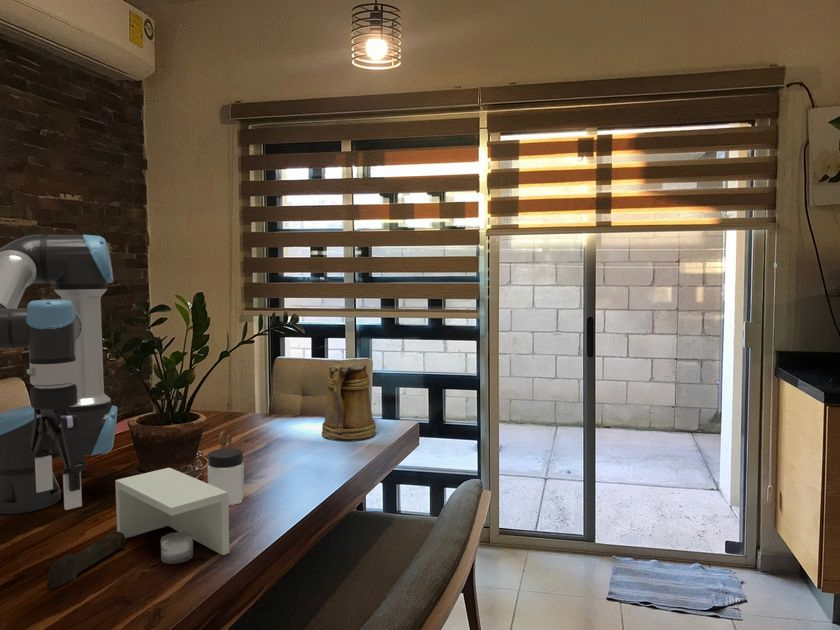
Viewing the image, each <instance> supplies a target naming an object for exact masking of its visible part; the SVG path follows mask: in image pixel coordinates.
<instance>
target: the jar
mask: <svg viewBox="0 0 840 630" xmlns="http://www.w3.org/2000/svg"><path fill="white" fill-rule="evenodd" d="M225 448H226V447H225ZM243 453H244V452H243V450H241V449H240V448H234V447H233V448H230V447H229V448H226V449H222V448H220V449H218V450H217V449H214V450H212V451H210V452H209V453H208V454H207V460H208V466H207V484H210V485H212V486H215V487H217V488H219V489H222V490H224V491H227V492H228V507H230V506H234V505H239V504H241V503H242V502H243V500H244V497H245V476H244V475H245V473H244V472H245V471H244V470H245V469H244V467H245V466H244V454H243Z"/></svg>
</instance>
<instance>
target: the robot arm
mask: <svg viewBox="0 0 840 630" xmlns="http://www.w3.org/2000/svg"><path fill="white" fill-rule="evenodd" d="M113 282H114V274H113V267H112V261H111V255H110V250H109V246H108V242H107V241H106V239H105V238H104V237H103V236H100V235H91V234H85V233H84V234H43V233H42V234H30V235H25V236H22V237H19V238H17V239H14V240H12V241H10V242H8V243H6V244H4V245H3V246H2V247H0V349H14V348H15V349H18V348H20V349H21V348H28V354H29V355H28V356H29V357H28V358H29V359H28V361H29V362H28V363H29V368H28V369H26V375H27V374H28V375H29V382H30V385H32V387H31V388H30V389H29V391H30V405H23V406H19V407H16V408H12V409H8V410H5V411H3V412H1V413H0V515H17V514H24V513H31V512H35V511H39V510H43V509H46V508H49V507H51V506H53V505H55V504H57V503H58V502H60V500H61V499H62V496H61V487H60V485H59V483H58V481H57V478H56V475H55V473H54V471H53V459H61V461H62V465H63V468H64V469H63V470H61V475H62V481H63V482H62V484H63V486H62V487H63V507H64V510H66V511H67V510H72V509H76V508H80V507H82V506H83V500H82V499H83V498H82V471H85V470H87V467H88V466H87V463H86V462H87V461H86V458H85V456H90V457H93V456H97V455H103V454H107V453H109V452H111V451H112V450H113V447H114V443H115V436H116V429H117V418H118V406H116V405H112V403H111V402H112V401H111V400H112V399H111V397H109V395H107V394H105V385H104V382H105V381H104V363H103V362H104V361H103V359H104V358H103V331H102V329H103V328H102V304H101V303H102V302H101V300H102V299H101V298H102V296H103V295H104V294H105V293H106V291H108V284H111V283H113ZM32 284H53V291H54V292H55V294H57V295H58V296H60V298H61V299H39V300H37V299H35V300H31V301H29V302H28V304H27V307H26V308H22V307H21V308H18V306H19V304H20V302H21V299H22V297H23V295H24V293H25V290H26V288H28V287H29V286H31V285H32Z"/></svg>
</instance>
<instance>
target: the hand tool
mask: <svg viewBox="0 0 840 630" xmlns="http://www.w3.org/2000/svg"><path fill="white" fill-rule="evenodd" d="M126 543H127V541H126V538H125V535H124V534H123V533H122V532H118V531H117V530H112V531H110V532H108V534H107V535H106V536H104V537H102V538H101V539H99V540H97V541H95V542H93V543H90V544H89V545H88V546H87V547H86V548H84V549H82V550H80V551H79V552H77V553H75V554H69V553H68V554H66V555H64V556H62V557H60V558H59V559H57V560H55V561H54V562H53V563H52V564H51V566H50V567H49V571H48V576H47V590H53V589H57V588H59V587H61V586H64V585H65V584H67V583H69V582H71V581H73V580H75V579H76V578H77V576H78V575H79V574H80V573H81V572H83V571H84V570H86V569H88V568H89V567H91V566H93V565H95V564H96V563H98V562H100V561H101V560H103V559H105V558H106V557H108V556H110V555H111V554H113V553H114V552H115V553H116V551H119V550H120V551H123V550H124V549H125V548H126V546H127V545H126Z"/></svg>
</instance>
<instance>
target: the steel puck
mask: <svg viewBox="0 0 840 630" xmlns="http://www.w3.org/2000/svg"><path fill="white" fill-rule="evenodd" d="M193 557H194V540H193V535H192V534H191V533H188V532H179V531H175V532H170V533H167V534H165V535H163V536H161V538H160V560H161V562H163V563H165V564H172V565H174V564H175V565H176V564H180V563H184V562H187V561H189V560H191V559H192V558H193Z"/></svg>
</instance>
